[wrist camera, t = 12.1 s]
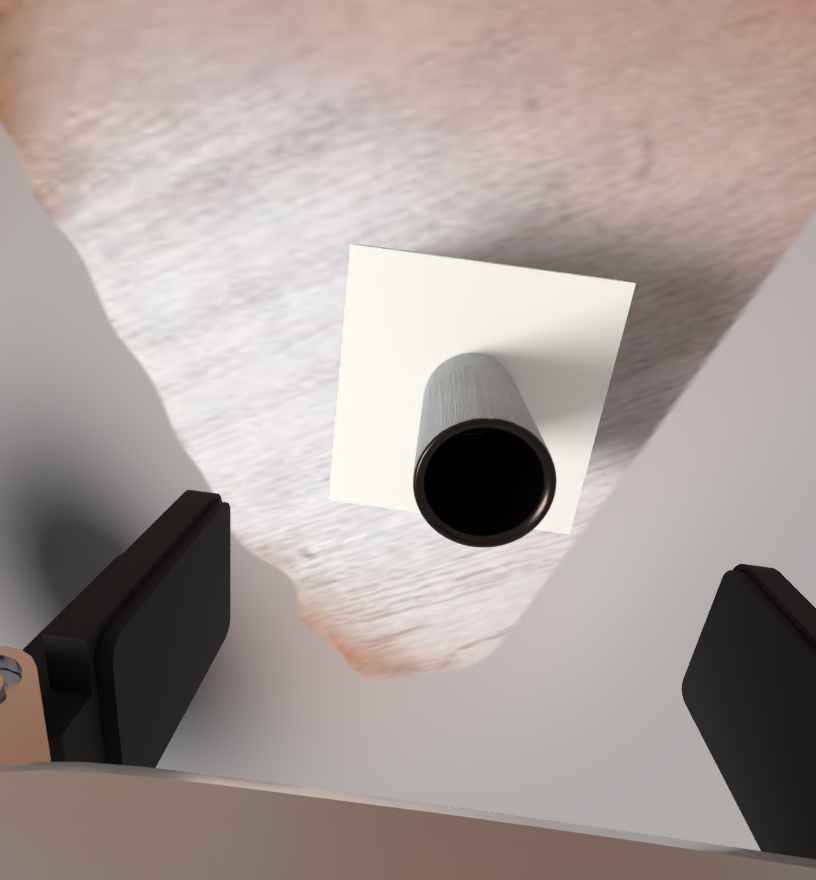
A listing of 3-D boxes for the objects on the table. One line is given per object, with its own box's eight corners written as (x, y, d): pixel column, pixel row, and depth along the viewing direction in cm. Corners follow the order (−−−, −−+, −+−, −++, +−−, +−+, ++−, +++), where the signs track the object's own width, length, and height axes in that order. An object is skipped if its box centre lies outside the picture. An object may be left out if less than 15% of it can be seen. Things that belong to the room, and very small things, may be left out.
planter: (535, 390, 26) (588, 476, 17) (475, 458, 28) (493, 573, 18) (462, 333, 26) (474, 388, 16) (405, 405, 27) (383, 496, 17)
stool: (374, 243, 33) (350, 244, 25) (586, 272, 33) (635, 283, 25) (354, 441, 38) (328, 499, 29) (541, 468, 37) (569, 534, 29)
